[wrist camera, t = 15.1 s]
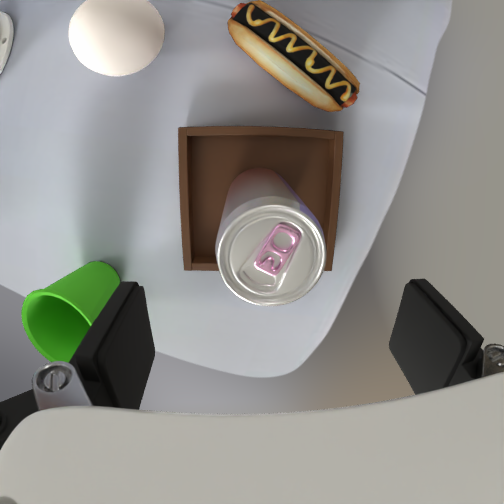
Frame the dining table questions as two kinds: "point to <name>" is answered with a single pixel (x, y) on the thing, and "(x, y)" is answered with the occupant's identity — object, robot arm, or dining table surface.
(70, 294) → the cup
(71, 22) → the egg
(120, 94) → the dining table surface
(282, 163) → the tray
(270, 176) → the beverage can
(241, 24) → the hot dog
